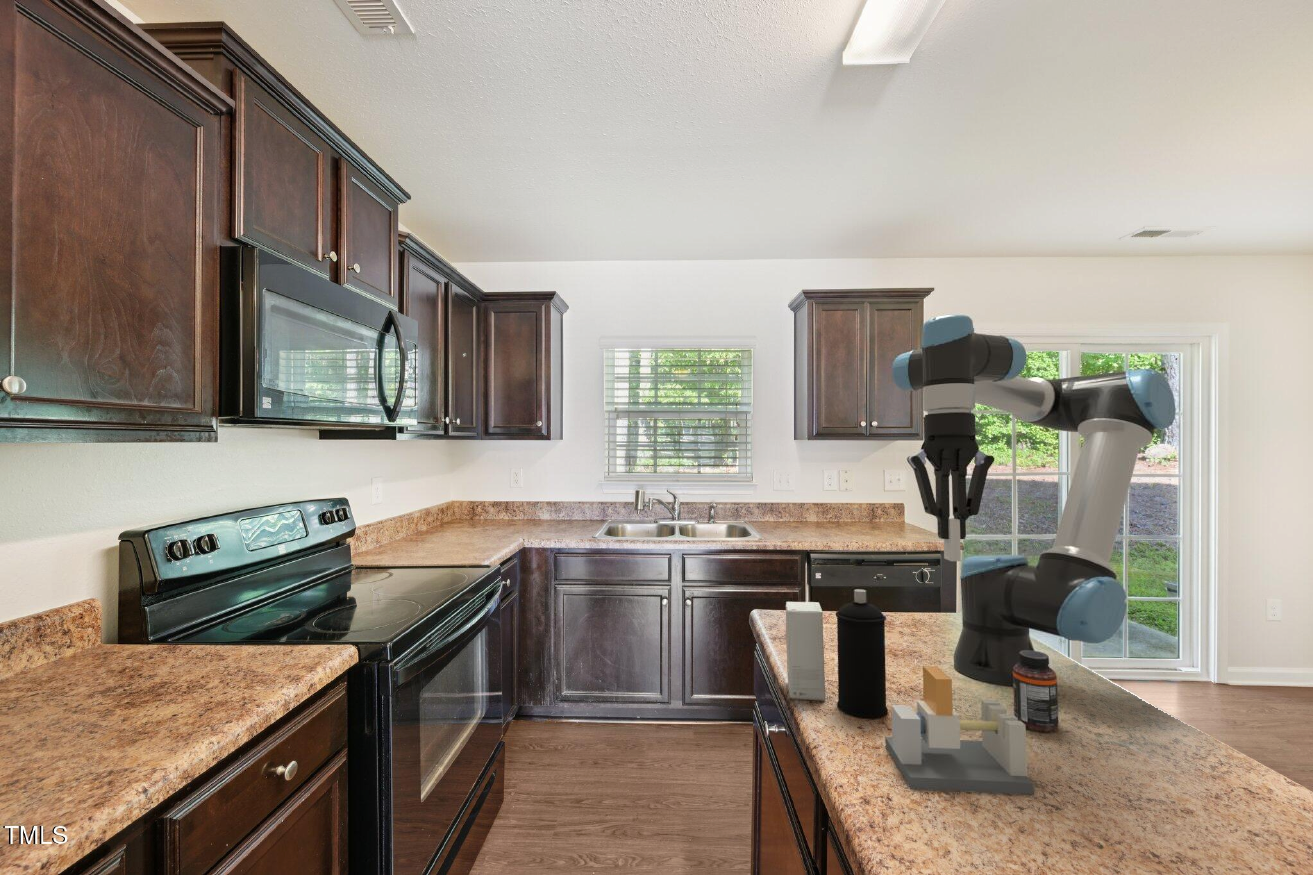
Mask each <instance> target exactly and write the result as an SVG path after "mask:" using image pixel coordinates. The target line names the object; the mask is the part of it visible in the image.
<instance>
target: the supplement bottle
mask: <svg viewBox="0 0 1313 875" xmlns="http://www.w3.org/2000/svg"><path fill="white" fill-rule="evenodd" d="M1019 660H1020V661H1019V662H1018V663H1017V664H1016V665H1014V667H1013V685H1012V686H1013V707H1014V708H1013V712H1014V713H1013V715H1014V716H1015V717H1017V719H1018V721H1021V722H1022V723H1024V724H1025V725H1026V730H1029V731H1034V732H1039V733H1045V734H1047V733H1053V732H1055V731H1057V730H1058V729H1059V698H1058V677H1057V673H1056V671H1055V670H1054V669H1052V668H1051V667H1050V666H1049V665H1050V659H1049V655H1048V654H1046V653H1045V652H1041V651H1036V650H1035V651H1032V650H1023V651H1020V652H1019Z"/></svg>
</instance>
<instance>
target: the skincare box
mask: <svg viewBox="0 0 1313 875" xmlns="http://www.w3.org/2000/svg"><path fill="white" fill-rule="evenodd" d="M823 619H824V618H823V609H822V607H821V605H820V602H816V601H815V602H814V601H786V602H785V640H786V641H785V642H786V643H785V644H786V665H787V670H786V671H787V683H788V684H787V686H788V694H789V695H788V696H789V698H790V699H794V700H804V701H805V700H808V701H809V700H811V701H825V700H826V680H825V653H824V652H825V651H824V649H825V648H824V647H825V646H824V623H823V622H824V620H823Z"/></svg>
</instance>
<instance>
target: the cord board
mask: <svg viewBox="0 0 1313 875" xmlns="http://www.w3.org/2000/svg"><path fill="white" fill-rule="evenodd" d="M890 709H891V710H890V711H891V736H885V737H884V740H885V748H886V751H887V752H888V754H889V755H890V757H891V759H892V761H893V763H895V766H896V768H898V770H899V772H900V774H901V775H902V777H903V779H904V780H905V782H906V784H907V785H908V787H909V788H910V789H911V790H921V791H922V790H925V791H942V792H943V791H945V792H962V793H963V792H966V793H983V794H984V793H989V794H1005V795H1006V794H1007V795H1011V794H1012V795H1026V796H1027V795H1029V796H1031V795H1032V796H1034V781H1032V780H1031V779H1030V778H1029V777H1028V768H1027V767H1028V766H1027V763H1028V761H1027V738H1026V737H1027V735H1026V734H1027V731H1026V730H1027V728H1026V725H1025V724H1024V723H1022V722H1021V721H1018V719H1017V717H1015V715H1014V713H1013V714H1012V713H1009V714H1008V709H1007V708H1006V707H1005V706H1003V705H1001V702H999V701H998V700H996V699H982V698H981V699H980V710H981V711H980V712H981V720H972V719H971V720H967V719H966V720H965V719H960V731H981V740H975V739H974V740H973V739H972V740H970V739H969V740H968V739H967V740H966V739H960V749H952V748H929V747H928V745H927V744H926V743H925V741H924V740H923V739H922V737H921V734H923V733H924V728H926V724H925V719H923V717H922V715H921V713H917V712H916V711H914V709H913V708H912V707H911V705H904V704H903V705H902V704H891V706H890Z"/></svg>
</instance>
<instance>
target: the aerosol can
mask: <svg viewBox="0 0 1313 875" xmlns="http://www.w3.org/2000/svg"><path fill="white" fill-rule="evenodd" d="M853 599H854V600H853V601H852V602H849V603H846V604H844V605H842V607H840V608H839V609H838V610H837V611H836V612H835V617H836V622H837V623H836V625H837V626H836V628H837V629H836V630H837V631H836V632H837V633H836V634H837V692H838V693H837V694H838V697H837V698H838V701H837V703H836V706H837V708H838V710H839V711H840V712H842V713H844V714H846V715H848V716H851V717H854V718H859V719H867V720H872V719H873V720H875V719H881V718H884V717H885V716H886V715H887V714H889V713H888V712H889V710H888V707H887V681H886V680H887V679H886V676H887V675H886V671H887V670H886V634H885V633H886V630H885V628H886V627H885V626H886V625H885V623H886V622H885V621H886V620H887V617H886V615H885V614H884V613H883V612H882V610H880V609H879V608H878V607H876V606H875V605H873V604H869V603H868V602H867V590H865V589H860V588H858V589H857V588H856V589H854V590H853Z"/></svg>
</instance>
